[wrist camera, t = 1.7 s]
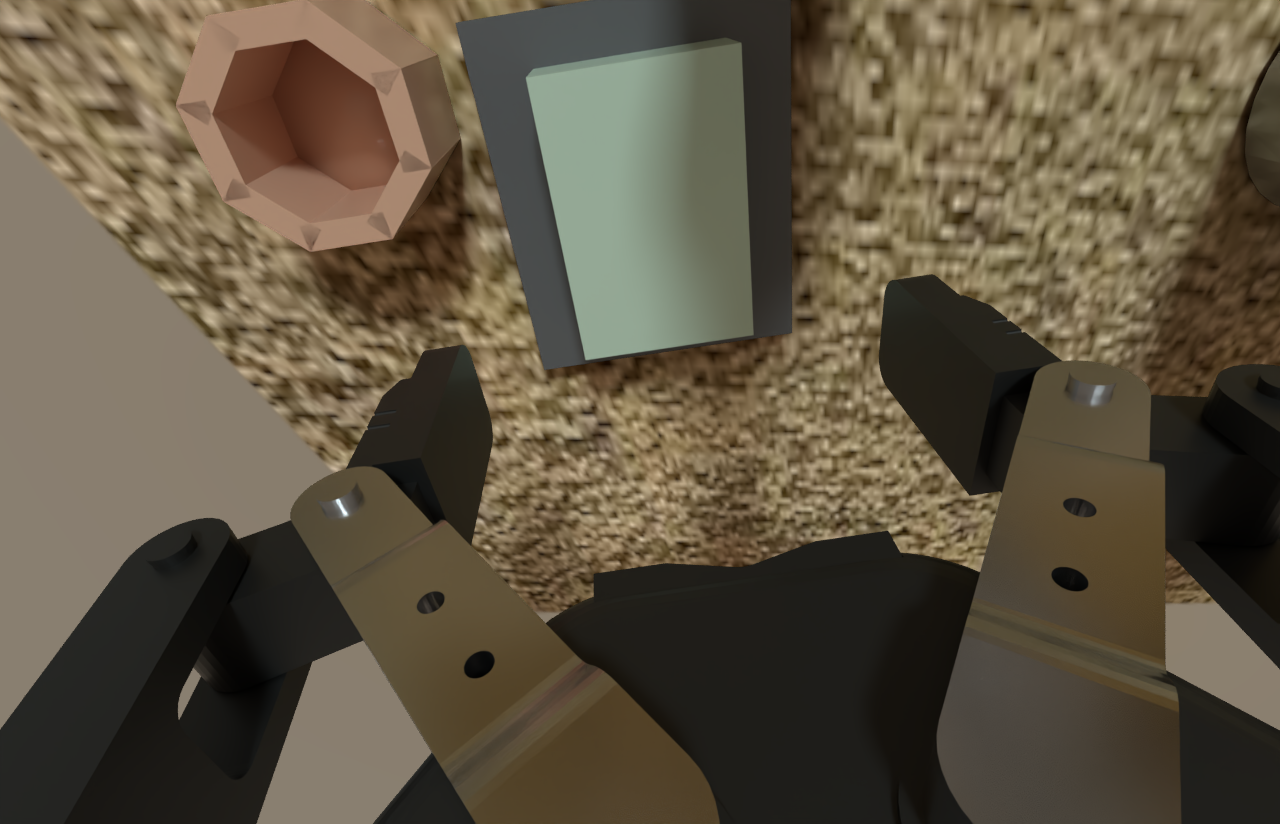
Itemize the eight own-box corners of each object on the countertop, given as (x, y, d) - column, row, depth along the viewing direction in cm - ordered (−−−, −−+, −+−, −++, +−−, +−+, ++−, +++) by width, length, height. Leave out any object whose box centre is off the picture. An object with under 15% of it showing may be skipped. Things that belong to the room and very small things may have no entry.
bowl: (419, -12, 19) (376, -13, 15) (475, 190, 22) (450, 230, 19) (225, 20, 19) (136, 27, 15) (310, 217, 23) (252, 261, 19)
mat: (782, -32, 19) (790, -33, 18) (785, 321, 26) (791, 332, 25) (461, 21, 20) (455, 22, 19) (545, 357, 26) (544, 369, 25)
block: (726, 37, 19) (741, 42, 17) (740, 305, 24) (753, 335, 22) (533, 69, 20) (525, 78, 17) (586, 329, 24) (585, 360, 22)
